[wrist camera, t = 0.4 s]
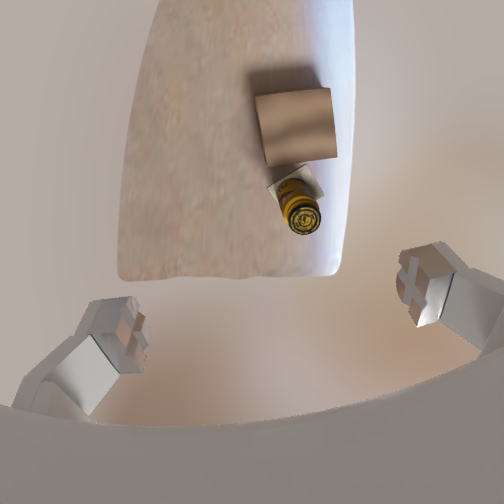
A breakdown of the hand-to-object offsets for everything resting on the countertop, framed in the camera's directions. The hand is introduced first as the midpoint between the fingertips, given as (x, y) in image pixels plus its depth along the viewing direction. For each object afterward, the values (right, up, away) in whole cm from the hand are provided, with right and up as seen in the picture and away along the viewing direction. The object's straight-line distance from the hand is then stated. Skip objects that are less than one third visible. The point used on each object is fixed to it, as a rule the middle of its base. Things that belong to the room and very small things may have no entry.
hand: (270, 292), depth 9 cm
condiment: (+8, +13, +47) cm, 49 cm away
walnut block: (+7, +24, +40) cm, 47 cm away
